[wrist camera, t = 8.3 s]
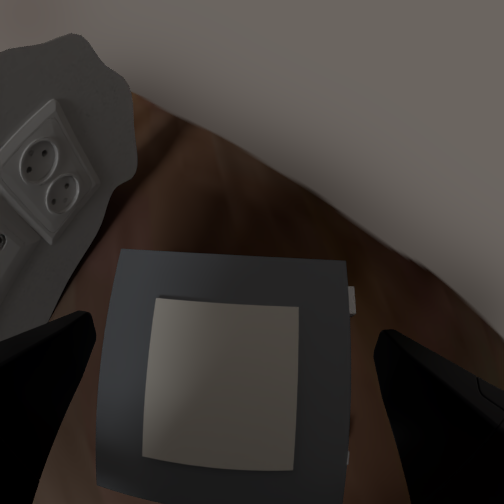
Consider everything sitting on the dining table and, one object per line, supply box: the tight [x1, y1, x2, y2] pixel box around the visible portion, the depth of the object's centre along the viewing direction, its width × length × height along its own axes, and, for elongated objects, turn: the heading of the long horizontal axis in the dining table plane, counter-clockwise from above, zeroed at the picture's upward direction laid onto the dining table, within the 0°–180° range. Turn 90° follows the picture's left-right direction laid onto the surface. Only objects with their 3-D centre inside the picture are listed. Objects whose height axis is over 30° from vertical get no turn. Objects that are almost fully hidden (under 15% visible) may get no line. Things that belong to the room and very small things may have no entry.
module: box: [96, 249, 351, 504], centre depth 10 cm, size 5×5×11 cm
